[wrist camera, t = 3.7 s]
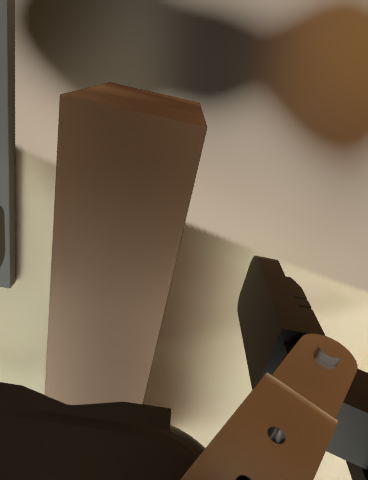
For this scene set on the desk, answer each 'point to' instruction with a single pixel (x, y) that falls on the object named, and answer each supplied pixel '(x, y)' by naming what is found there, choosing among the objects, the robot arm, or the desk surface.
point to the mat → (7, 137)
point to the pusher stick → (116, 236)
